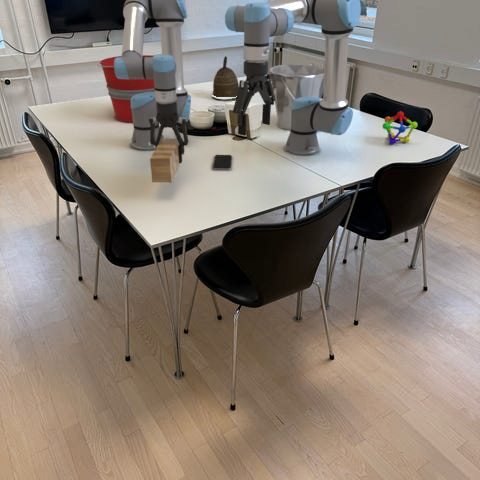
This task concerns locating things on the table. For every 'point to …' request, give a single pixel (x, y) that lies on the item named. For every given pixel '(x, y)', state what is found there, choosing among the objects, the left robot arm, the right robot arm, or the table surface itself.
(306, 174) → the table surface
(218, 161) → the smartphone
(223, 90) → the bell
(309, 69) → the bucket
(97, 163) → the table surface
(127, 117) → the bucket
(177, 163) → the box
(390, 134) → the educational toy
